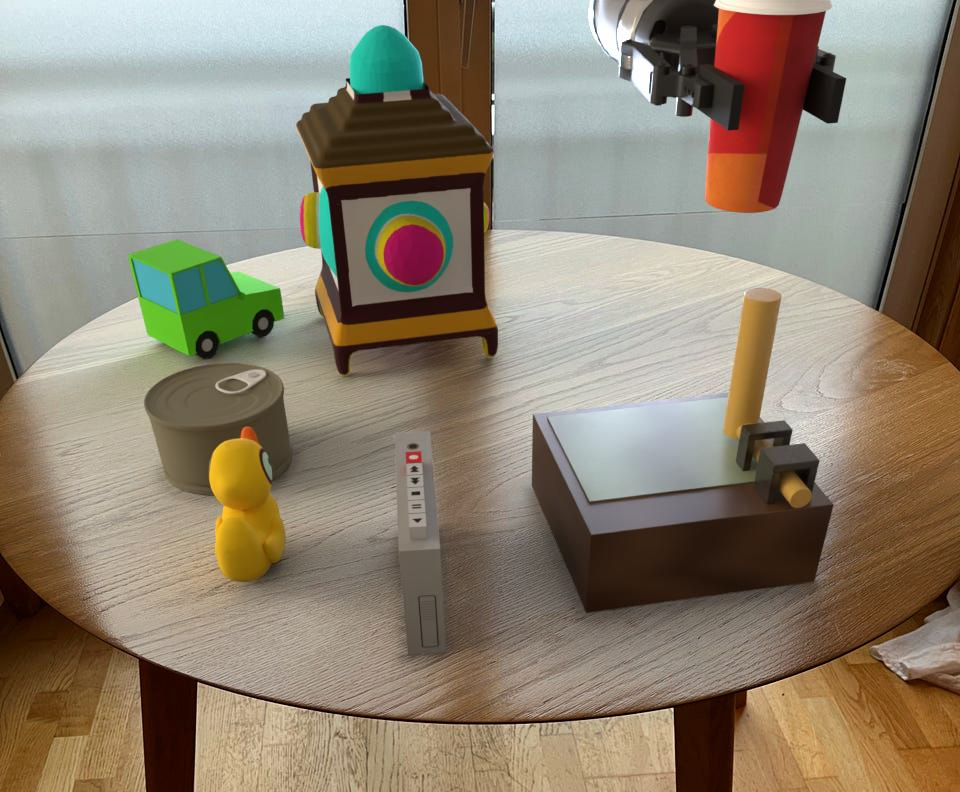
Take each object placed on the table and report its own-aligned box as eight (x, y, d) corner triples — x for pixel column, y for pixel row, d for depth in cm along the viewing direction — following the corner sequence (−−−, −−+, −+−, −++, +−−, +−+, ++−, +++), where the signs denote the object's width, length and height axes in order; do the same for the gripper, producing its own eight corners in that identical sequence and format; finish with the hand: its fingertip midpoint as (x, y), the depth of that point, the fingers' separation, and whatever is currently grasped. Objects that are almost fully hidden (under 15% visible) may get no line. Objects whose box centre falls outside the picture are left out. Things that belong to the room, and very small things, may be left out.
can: (134, 467, 90) (115, 398, 86) (237, 417, 97) (224, 350, 93) (218, 512, 85) (202, 440, 80) (321, 455, 91) (311, 386, 87)
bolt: (748, 423, 79) (772, 286, 72) (816, 506, 70) (851, 358, 63) (717, 427, 79) (738, 289, 72) (781, 510, 70) (812, 362, 63)
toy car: (295, 330, 113) (282, 240, 106) (197, 369, 106) (176, 275, 99) (241, 306, 118) (226, 220, 112) (145, 342, 111) (122, 252, 105)
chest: (726, 462, 89) (744, 355, 82) (814, 581, 76) (843, 465, 69) (531, 486, 87) (533, 377, 80) (586, 613, 73) (593, 495, 67)
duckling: (233, 520, 84) (210, 412, 77) (297, 518, 84) (279, 411, 77) (208, 604, 75) (179, 491, 68) (279, 602, 75) (257, 489, 68)
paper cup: (770, 182, 78) (807, -30, 69) (810, 214, 73) (856, -13, 63) (675, 188, 77) (700, -26, 68) (708, 221, 72) (739, -8, 63)
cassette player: (402, 529, 82) (393, 421, 75) (435, 527, 82) (429, 419, 76) (407, 654, 70) (397, 538, 64) (446, 652, 70) (439, 536, 64)
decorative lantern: (514, 363, 105) (515, 37, 86) (328, 387, 102) (285, 53, 82) (469, 293, 120) (462, 1, 100) (306, 312, 117) (265, 13, 97)
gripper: (776, 82, 87) (907, 155, 70) (561, 96, 85) (642, 174, 67) (792, -19, 82) (937, 31, 65) (564, -8, 80) (652, 48, 63)
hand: (786, 104), depth 66 cm, fingers closed on paper cup, 6 cm apart
